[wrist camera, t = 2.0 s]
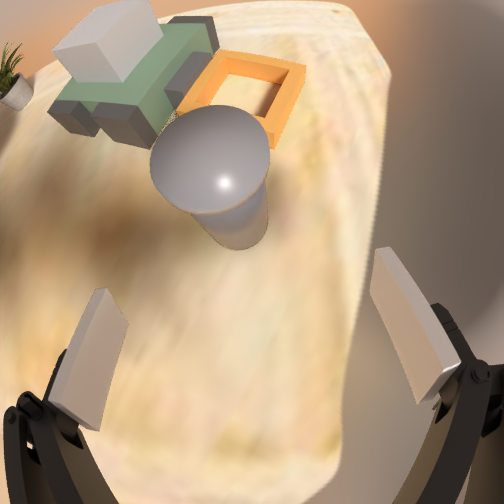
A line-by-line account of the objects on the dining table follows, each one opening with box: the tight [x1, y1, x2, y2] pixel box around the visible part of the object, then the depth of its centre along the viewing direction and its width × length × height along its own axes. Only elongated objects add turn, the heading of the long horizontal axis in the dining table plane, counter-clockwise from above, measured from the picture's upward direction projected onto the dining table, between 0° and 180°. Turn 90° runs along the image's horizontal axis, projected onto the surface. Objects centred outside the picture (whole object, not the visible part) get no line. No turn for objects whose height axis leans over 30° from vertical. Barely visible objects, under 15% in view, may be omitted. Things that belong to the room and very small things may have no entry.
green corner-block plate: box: [47, 0, 306, 150], centre depth 24 cm, size 30×19×13 cm, turn 68°
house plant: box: [0, 43, 33, 111], centre depth 27 cm, size 14×14×16 cm
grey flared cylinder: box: [150, 105, 270, 250], centre depth 20 cm, size 6×6×13 cm
